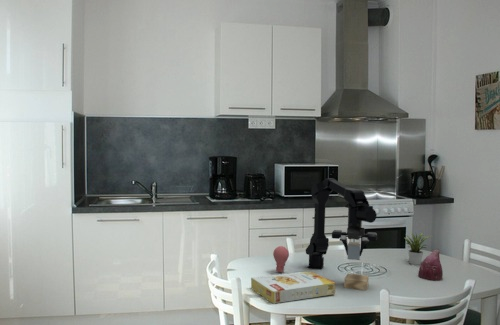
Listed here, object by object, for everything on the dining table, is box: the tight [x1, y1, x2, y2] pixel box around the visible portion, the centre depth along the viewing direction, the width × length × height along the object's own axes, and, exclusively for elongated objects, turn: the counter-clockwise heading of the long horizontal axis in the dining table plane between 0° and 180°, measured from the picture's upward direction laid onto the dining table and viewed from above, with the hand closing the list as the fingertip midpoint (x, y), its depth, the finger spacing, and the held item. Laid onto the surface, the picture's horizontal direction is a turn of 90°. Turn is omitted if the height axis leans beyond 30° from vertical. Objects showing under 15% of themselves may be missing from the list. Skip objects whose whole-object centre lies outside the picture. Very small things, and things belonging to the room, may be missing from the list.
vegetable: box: [417, 248, 444, 282], centre depth 220 cm, size 10×10×15 cm
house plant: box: [404, 232, 432, 266], centre depth 244 cm, size 14×14×16 cm
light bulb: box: [272, 245, 290, 273], centre depth 221 cm, size 7×7×12 cm
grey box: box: [347, 241, 361, 261], centre depth 207 cm, size 5×5×7 cm
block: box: [343, 273, 370, 291], centre depth 205 cm, size 9×9×4 cm
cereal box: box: [250, 270, 336, 304], centre depth 195 cm, size 20×6×28 cm
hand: (353, 255), depth 207 cm, fingers closed on grey box, 5 cm apart
